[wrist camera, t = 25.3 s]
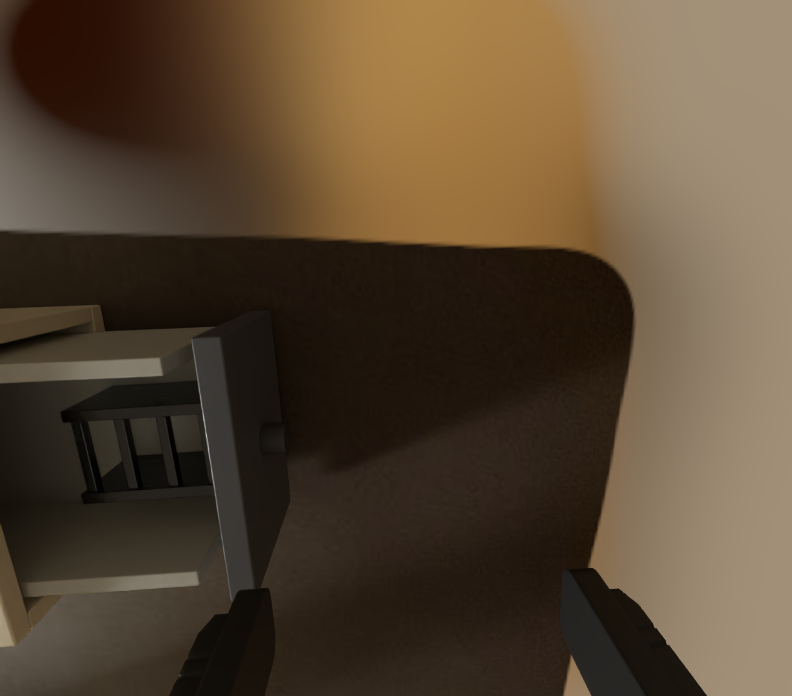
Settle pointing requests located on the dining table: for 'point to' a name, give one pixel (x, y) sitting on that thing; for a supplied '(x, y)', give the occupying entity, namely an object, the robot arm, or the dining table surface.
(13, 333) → the cream drawer box
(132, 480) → the rack
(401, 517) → the dining table surface
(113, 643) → the dining table surface
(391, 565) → the dining table surface
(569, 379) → the dining table surface
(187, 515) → the two-tone hollow box
